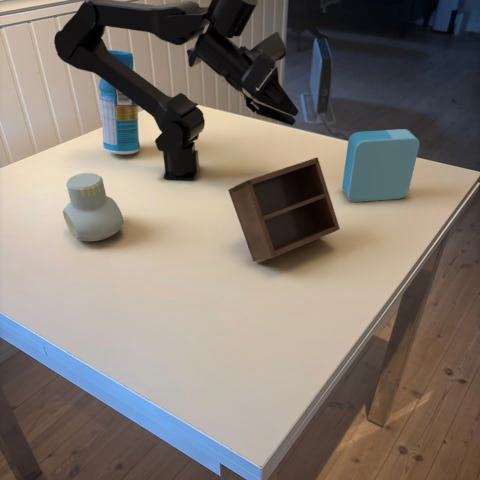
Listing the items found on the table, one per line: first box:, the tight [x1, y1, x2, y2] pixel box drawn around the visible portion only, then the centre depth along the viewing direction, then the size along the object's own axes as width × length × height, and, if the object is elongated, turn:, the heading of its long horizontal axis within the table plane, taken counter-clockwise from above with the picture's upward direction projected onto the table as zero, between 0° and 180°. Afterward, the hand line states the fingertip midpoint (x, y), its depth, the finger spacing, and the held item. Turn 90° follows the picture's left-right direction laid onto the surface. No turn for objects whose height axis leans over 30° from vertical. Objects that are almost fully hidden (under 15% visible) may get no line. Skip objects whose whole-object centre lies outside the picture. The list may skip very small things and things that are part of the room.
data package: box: [341, 128, 420, 203], centre depth 92 cm, size 12×4×12 cm, turn 97°
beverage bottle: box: [98, 49, 141, 155], centre depth 107 cm, size 8×8×20 cm
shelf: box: [227, 157, 341, 262], centre depth 78 cm, size 6×14×12 cm
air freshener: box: [62, 172, 125, 242], centre depth 84 cm, size 11×8×10 cm
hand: (295, 119), depth 87 cm, fingers open, 9 cm apart
